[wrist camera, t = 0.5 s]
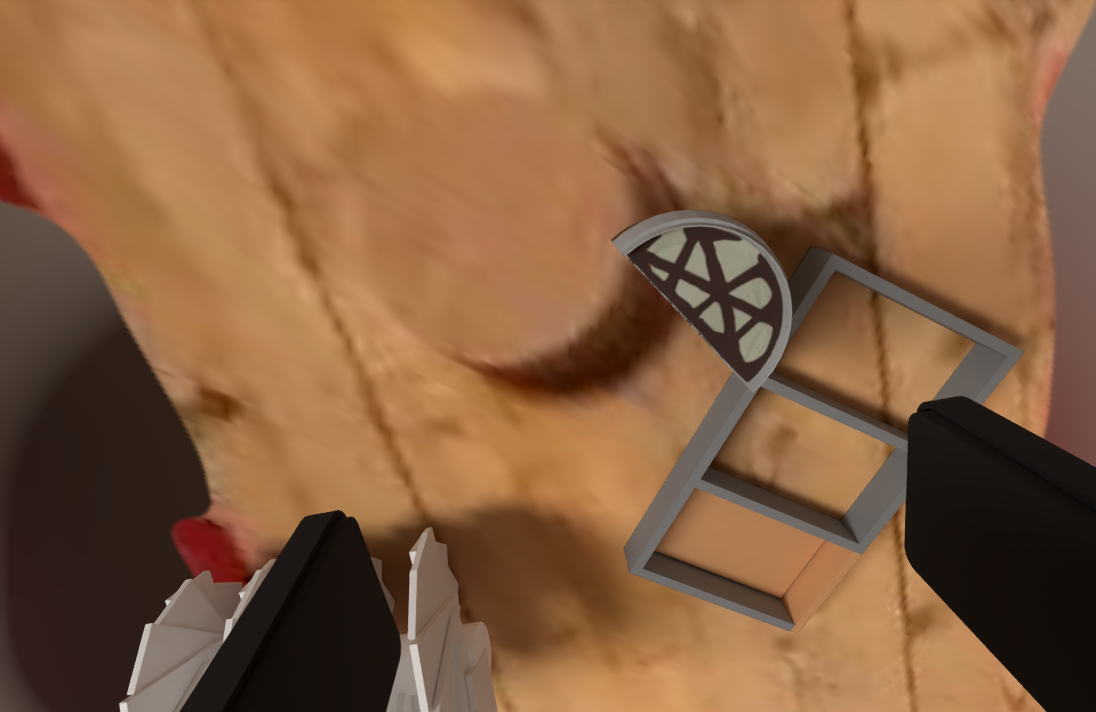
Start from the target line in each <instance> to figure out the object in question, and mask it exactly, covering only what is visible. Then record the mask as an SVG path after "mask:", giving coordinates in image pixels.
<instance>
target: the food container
mask: <svg viewBox="0 0 1096 712" xmlns="http://www.w3.org/2000/svg"><path fill="white" fill-rule="evenodd" d="M611 241H612V243H613V244H614V245H615V246H616V247H617V248H618V250H619V251H620V252H621V253H622V254H623V255H624V256H626V257H627V258H628V259H629V261H631V262H632V263H633V264H634V265H635V266H636V267H637V268H638V269H639V271H640V272H641V273H642V274H643V275H644V276H645V277H646V278H647V279H648V280H649V282H651V283H652V284H653V285H654V287H655V288H656V289H657V290H658V291H659V292H660V293H661V294H662V295H663V296H664V297H665V298H666V299H667V300H668V301H669V303H670V304H671V305H672V306H673V307H674V308H675V309H676V310H677V311H678V313H680V314H681V315H682V316H683V317H684V319H685V320H686V321H687V322H688V323H689V324H690V325H691V326H692V327H693V328H694V329H695V330H696V331H697V333H698V334H699V335H700V336H701V337H702V338H703V339H704V340H705V341H706V342H707V343H708V345H709V346H710V347H711V348H712V349H713V350H714V351H715V352H716V353H717V354H718V355H719V357H720V358H721V359H722V360H723V361H724V362H725V363H726V364H727V365H728V366H729V368H730V369H731V370H732V371H733V372H734V373H735V374H736V375H737V376H738V377H739V378H740V380H741V381H742V382H743V383H744V384H745V385H746V386H747V387H748V388H749V389H750V390H751V392H752V393H753V392H754V391H755V390H756V389H757V388H758V387H760V386H761V385H762V384H763V383H764V381H765V380H766V379H767V378H768V377H769V375H770V374H771V373H772V372H773V370H774V369H775V367H776V365H777V364H778V362H779V360H780V359H781V357H782V354H783V352H784V349H785V347H786V345H787V342H788V338H789V334H790V330H791V321H792V301H791V292H790V288H789V284H788V280H787V277H786V275H785V272H784V270H783V268H782V266H781V264H780V262H779V261H778V259H777V258H776V256H775V255H774V253H773V252H772V251H771V249H770V248H769V246H768V245H767V244H766V242H765V241H763V240H762V239H761V238H760V237H759V236H758V235H757V234H756V233H755V232H754V231H753V230H752V229H750V228H749V227H747V226H746V225H744V224H743V223H741V222H739V221H737V220H735V219H733V218H730V217H728V216H726V215H722V214H719V213H715V212H711V211H702V210H682V211H673V212H669V213H665V214H661V215H656V216H654V217H652V218H649V219H647V220H645V221H641V222H638V223H636V224H634V225H631V226H629V227H628V228H626V229H624V230H623V231H621V232H620V233H619V234H617V235H616V236H615V237H614V238H613V239H612V240H611Z"/></svg>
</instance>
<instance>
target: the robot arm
mask: <svg viewBox="0 0 1096 712" xmlns="http://www.w3.org/2000/svg"><path fill="white" fill-rule="evenodd" d="M904 545H905V552H906V556H907V558H908V560H909V562H910V564H911V566H912V567H913V569H914V570H915V571H916V572H917V573H918V574H919V575H920V576H921V578H922V579H923V580H924V581H925V582H926V583H927V584H928V585H929V586H930V587H931V588H932V589H933V590H934V592H935V593H936V594H937V595H938V596H939V597H940V598H941V599H942V600H943V601H944V602H945V603H946V604H947V605H948V607H949V608H950V609H951V610H952V611H953V612H954V613H955V614H956V615H957V616H958V617H959V618H960V619H961V620H962V622H963V623H964V624H965V625H966V626H967V627H968V628H969V629H970V630H971V631H972V632H973V633H974V634H975V635H976V637H977V638H978V639H979V640H980V641H981V642H982V643H983V644H984V645H985V646H986V647H987V648H988V649H989V651H990V652H991V653H992V654H993V655H994V656H995V657H996V658H997V659H998V660H999V661H1000V662H1001V663H1002V664H1003V666H1004V667H1005V668H1006V669H1007V670H1008V671H1009V672H1010V673H1011V674H1012V675H1013V676H1014V677H1015V678H1016V679H1017V681H1018V682H1019V683H1020V684H1021V685H1022V686H1023V687H1024V688H1025V689H1026V690H1027V691H1028V692H1029V693H1030V695H1031V696H1032V697H1033V698H1034V699H1035V700H1036V701H1037V702H1038V703H1039V704H1040V705H1041V706H1042V707H1043V708H1044V710H1045V711H1046V712H1096V467H1094V466H1092V465H1090V464H1089V463H1087V462H1085V461H1083V460H1081V459H1079V458H1077V457H1075V456H1074V455H1072V454H1070V453H1068V452H1067V451H1065V450H1063V449H1061V448H1059V447H1057V446H1056V445H1054V444H1052V443H1050V442H1048V441H1046V440H1045V439H1043V438H1041V437H1039V436H1037V435H1035V434H1034V433H1032V432H1030V431H1028V430H1026V429H1025V428H1023V427H1021V426H1019V425H1017V424H1015V423H1014V422H1012V421H1010V420H1008V419H1006V418H1004V417H1003V416H1001V415H999V414H997V413H995V412H993V411H992V410H990V409H988V408H986V407H984V406H982V405H981V404H979V403H977V402H975V401H973V400H971V399H970V398H967V397H964V396H954V397H949V398H944V399H938V400H933V401H927V402H923V403H922V404H920V405H919V407H918V409H917V413H913V414H912V415H911V416H910V418H909V422H908V449H907V481H906V513H905V544H904ZM400 657H401V639H400V635H399V632H398V629H397V627H396V624H395V621H394V619H393V616H392V613H391V610H390V608H389V605H388V602H387V600H386V597H385V594H384V592H383V589H382V586H381V584H380V581H379V578H378V576H377V573H376V570H375V568H374V565H373V562H372V560H371V557H370V554H369V552H368V549H367V546H366V544H365V541H364V538H363V536H362V533H361V530H360V528H359V525H358V523H357V521H356V519H355V518H354V517H346V515H345V514H344V513H343V512H342V511H340V510H337V511H331V512H326V513H321V514H315V515H310V516H306V517H304V518H303V519H302V521H301V522H300V524H299V525H298V527H297V528H296V530H295V531H294V533H293V534H292V536H291V538H290V539H289V541H288V542H287V544H286V545H285V547H284V549H283V550H282V552H281V553H280V555H279V556H278V558H277V560H276V561H275V563H274V564H273V566H272V567H271V569H270V571H269V572H268V574H267V575H266V577H265V578H264V580H263V581H262V583H261V585H260V586H259V588H258V589H257V591H256V592H255V594H254V596H253V597H252V599H251V600H250V602H249V603H248V605H247V607H246V608H245V610H244V611H243V613H242V614H241V616H240V617H239V619H238V621H237V622H236V624H235V625H234V627H233V628H232V630H231V632H230V633H229V635H228V636H227V638H226V639H225V641H224V643H223V644H222V646H221V647H220V649H219V650H218V652H217V653H216V655H215V657H214V658H213V660H212V661H211V663H210V664H209V666H208V668H207V669H206V671H205V672H204V674H203V675H202V677H201V679H200V680H199V682H198V683H197V685H196V686H195V688H194V690H193V691H192V693H191V694H190V696H189V697H188V699H187V700H186V702H185V704H184V705H183V707H182V708H181V710H180V711H179V712H386V711H387V707H388V703H389V700H390V696H391V692H392V688H393V684H394V681H395V677H396V673H397V669H398V665H399V662H400Z"/></svg>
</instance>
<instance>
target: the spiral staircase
mask: <svg viewBox="0 0 1096 712" xmlns="http://www.w3.org/2000/svg"><path fill="white" fill-rule="evenodd" d="M409 554H410V558H411V561H412V568H411V571H410V575H409V577H410V586H409V616H408V633H406V634H400V639H401V657H400V662H399V665H398V669H397V673H396V677H395V681H394V684H393V688H392V692H391V696H390V700H389V703H388V707H387V711H386V712H498V711H497V705H496V700H495V694H494V689H493V683H492V678H491V645H490V639H489V635H488V631H487V628H486V626H485V624H484V623H483V622H481V621H480V622H474V623H468V624H462V622H461V619H460V609H461V607H460V605H459V601H458V585H459V584H458V582H457V580H456V579H455V577H454V575H453V574H452V572H451V570H450V569H449V567H448V556H447V544H443V543H439V542H436V541H435V537H434V533H433V529H432V527H429V528H426V529H425V530H424V532H423V533H422V535H421V536H420V538H419V539H418V540H417V542H416V543H415V545H414V546H413V548H412V549H411V550H410V552H409ZM371 560H372V562H373V565H374V568H375V570H376V573H377V576H378V578H379V581H380V584H381V586H382V589H383V592H384V594H385V597H386V600H387V602H388V605H389V608H390V610H391V613H393V609H394V604H395V601H394V599H393V598H392V596H391V594H390V593H389V591H388V590H387V588H386V586H385V585H384V583H383V582H382V560H380V559H376V558H373V557H371ZM275 561H276V559H271V560H269V561H268V563H267V564H266V565H265V566H264V567H263V568H262V569H261V570H256V572H255V574H254V576H253V578H252V579H251V580H250V581H249V583H248V584H247V585H246V586H245V587H244V588H243V589H242V582H238V583H213V580H212V577H211V574H210V571H204V572H202V573H201V574H200V575H199V576H197V577H196V578H195V579H193V580H192V579H188V580H185V582H184V583H183V584H182V586H181V587H180V589H179V590H178V591H177V592H176V593H175V594H174V595H172V596H171V597H170V598H168V599H167V600H166V601H165V602H166V605H167V606H166V608H165V609H164V611H163V612H162V613H161V615H160V616H159V618H158V619H157V620H156V622H155V623H154V624H153V623H151V624H146V625H145V629H144V633H143V637H142V640H141V644H140V648H139V651H138V656H137V659H136V663H135V667H134V670H133V674H132V678H131V682H130V685H129V689H128V693H127V695H131V696H130V697H128V698H127V699H125V700H124V701H122V702H121V703H120V711H121V712H179V711H180V710H181V708H182V707H183V705H184V704H185V702H186V700H187V699H188V697H189V696H190V694H191V693H192V691H193V690H194V688H195V686H196V685H197V683H198V682H199V680H200V679H201V677H202V675H203V674H204V672H205V671H206V669H207V668H208V666H209V664H210V663H211V661H212V660H213V658H214V657H215V655H216V653H217V652H218V650H219V649H220V647H221V646H222V644H223V643H224V641H225V639H226V638H227V636H228V635H229V633H230V632H231V630H232V628H233V627H234V625H235V624H236V622H237V621H238V619H239V617H240V616H241V614H242V613H243V611H244V610H245V608H246V607H247V605H248V603H249V602H250V600H251V599H252V597H253V596H254V594H255V592H256V591H257V589H258V588H259V586H260V585H261V583H262V581H263V580H264V578H265V577H266V575H267V574H268V572H269V571H270V569H271V567H272V566H273V564H274V563H275Z"/></svg>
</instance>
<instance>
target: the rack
mask: <svg viewBox="0 0 1096 712" xmlns="http://www.w3.org/2000/svg"><path fill="white" fill-rule="evenodd" d="M834 271H835V272H837V273H839V274H841V275H843V276H845V277H847V278H849V279H851V280H853V281H855V282H856V283H858V284H860V285H862V286H864V287H866V288H868V289H870V290H872V291H874V292H876V293H878V294H880V295H882V296H884V297H886V298H888V299H890V300H892V301H894V302H896V303H898V304H900V305H902V306H904V307H906V308H908V309H910V310H912V311H914V312H916V313H918V314H920V315H922V316H924V317H926V318H928V319H930V320H932V321H934V322H936V323H938V324H940V325H942V326H944V327H945V328H947V329H949V330H951V331H953V332H955V333H957V334H959V335H961V336H963V337H965V338H967V339H969V340H971V341H973V342H975V343H976V344H975V346H974V347H973V348H972V349H971V351H970V352H969V353H968V355H967V356H966V357H965V359H964V360H963V361H962V363H961V364H960V365H959V366H958V368H957V369H956V370H955V372H954V373H953V374H952V376H951V377H950V378H949V379H948V381H947V382H946V383H945V385H944V386H943V387H942V389H941V390H940V391H939V393H938V394H937V395H936V396H935V398H934V399H933V400H938V399H944V398H949V397H954V396H964V397H967V398H970V399H971V400H973V401H975V402H977V403H979V404H981V405H982V404H983V403H984V401H985V400H986V399H987V398H988V396H989V395H990V394H991V393H992V391H993V390H994V389H995V388H996V386H997V385H998V384H999V383H1000V381H1001V380H1002V379H1003V378H1004V376H1005V375H1006V374H1007V373H1008V371H1009V370H1010V369H1011V368H1012V366H1013V365H1014V364H1015V363H1016V361H1017V360H1018V359H1019V358H1020V356H1021V355H1022V354H1023V353H1024V351H1022V350H1020V349H1018V348H1016V347H1014V346H1013V345H1011V344H1009V343H1007V342H1005V341H1003V340H1001V339H999V338H997V337H995V336H993V335H991V334H989V333H987V332H985V331H983V330H981V329H979V328H977V327H975V326H973V325H972V324H970V323H968V322H966V321H964V320H962V319H960V318H958V317H956V316H954V315H952V314H950V313H948V312H946V311H944V310H942V309H940V308H938V307H936V306H934V305H932V304H931V303H929V302H927V301H925V300H923V299H921V298H919V297H917V296H915V295H913V294H911V293H909V292H907V291H905V290H903V289H901V288H899V287H897V286H895V285H893V284H891V283H889V282H888V281H886V280H884V279H882V278H880V277H878V276H876V275H874V274H872V273H870V272H868V271H866V270H864V269H862V268H860V267H858V266H856V265H854V264H852V263H850V262H848V261H847V260H845V259H843V258H841V257H839V256H837V255H835V254H833V253H830V252H827V251H824V250H821V249H818V248H815V247H812V246H811V247H810V249H809V251H808V252H807V254H806V255H805V257H804V259H803V260H802V262H801V264H800V265H799V267H798V268H797V270H796V272H795V273H794V275H793V276H792V278H791V280H790V281H789V283H788V284H789V288H790V292H791V301H792V321H791V330H790V334H789V338H788V342H787V344H788V343H789V341H790V339H791V338H792V336H793V335H794V333H795V332H796V330H797V329H798V327H799V326H800V324H801V322H802V321H803V319H804V318H805V316H806V315H807V313H808V312H809V310H810V308H811V307H812V305H813V304H814V302H815V301H816V299H817V298H818V296H819V295H820V293H821V291H822V290H823V288H824V287H825V285H826V284H827V282H828V281H829V279H830V277H831V276H832V274H833V273H834ZM786 346H787V345H786ZM761 387H763V388H765V389H767V390H770V391H772V392H774V393H776V394H778V395H781V396H783V397H785V398H787V399H790V400H792V401H794V402H796V403H798V404H801V405H803V406H805V407H807V408H810V409H812V410H814V411H816V412H818V413H821V414H823V415H825V416H827V417H830V418H832V419H834V420H836V421H838V422H841V423H843V424H845V425H847V426H850V427H852V428H854V429H856V430H858V431H861V432H863V433H865V434H867V435H870V436H872V437H874V438H876V439H878V440H881V441H883V442H885V443H887V444H890V445H892V446H894V447H896V449H895V450H894V451H893V453H892V454H891V455H890V456H889V458H888V459H887V460H886V462H885V463H884V464H883V466H882V467H881V468H880V470H879V471H878V472H877V473H876V475H875V476H874V477H873V479H872V480H871V481H870V483H869V484H868V485H867V486H866V488H865V489H864V490H863V492H862V493H861V494H860V496H859V497H858V498H857V500H856V501H855V502H854V503H853V505H852V506H851V507H850V509H849V510H848V511H847V513H846V514H845V515H844V516H843V518H842V519H841V520H840V521H839V520H837V519H834V518H832V517H829V516H827V515H824V514H822V513H820V512H817V511H815V510H812V509H810V508H808V507H805V506H803V505H800V504H798V503H795V502H793V501H791V500H788V499H786V498H783V497H781V496H779V495H776V494H774V493H771V492H769V491H766V490H764V489H762V488H759V487H757V486H754V485H752V484H750V483H747V482H745V481H742V480H740V479H737V478H735V477H733V476H730V475H728V474H725V473H723V472H720V471H718V470H716V469H713V468H711V467H709V465H710V463H711V462H712V460H713V459H714V457H715V456H716V454H717V453H718V451H719V450H720V448H721V446H722V445H723V443H724V442H725V440H726V439H727V437H728V436H729V434H730V432H731V431H732V429H733V428H734V426H735V425H736V423H737V422H738V420H739V419H740V417H741V415H742V414H743V412H744V411H745V409H746V408H747V406H748V405H749V403H750V401H751V400H752V398H753V397H754V395H755V394H756V392H757V391H758V389H759V388H760V387H758V388H757V389H756V390H755V391H754V392H753V393H752V392H751V390H750V389H749V388H748V387H747V386H746V385H745V384H744V383H743V382H742V381H741V380H740V378H739V377H738V376H737V375H736V374H735V373H734V372H733V373H732V375H731V376H730V378H729V379H728V381H727V383H726V384H725V386H724V387H723V389H722V391H721V392H720V394H719V396H718V397H717V399H716V400H715V402H714V404H713V405H712V407H711V408H710V410H709V412H708V413H707V415H706V416H705V418H704V420H703V421H702V423H701V424H700V426H699V428H698V429H697V431H696V433H695V434H694V436H693V437H692V439H691V441H690V442H689V444H688V445H687V447H686V449H685V450H684V452H683V453H682V455H681V457H680V458H679V460H678V462H677V463H676V465H675V466H674V468H673V470H672V471H671V473H670V474H669V476H668V478H667V479H666V481H665V482H664V484H663V486H662V487H661V489H660V490H659V492H658V494H657V495H656V497H655V499H654V500H653V502H652V503H651V505H650V507H649V508H648V510H647V511H646V513H645V515H644V516H643V518H642V519H641V521H640V523H639V524H638V526H637V527H636V529H635V531H634V532H633V534H632V536H631V537H630V539H629V540H628V542H627V544H626V545H625V547H624V552H625V556H626V560H627V565H628V569H629V573H631V574H634V575H637V576H639V577H642V578H645V579H648V580H650V581H653V582H656V583H659V584H661V585H664V586H667V587H670V588H672V589H675V590H678V591H680V592H683V593H686V594H689V595H691V596H694V597H697V598H700V599H702V600H705V601H708V602H711V603H713V604H716V605H719V606H722V607H724V608H727V609H730V610H732V611H735V612H738V613H741V614H743V615H746V616H749V617H752V618H754V619H757V620H760V621H763V622H765V623H768V624H771V625H774V626H776V627H779V628H782V629H784V630H787V631H790V632H793V633H795V634H798V633H799V632H800V631H801V630H802V628H803V627H804V626H805V625H806V623H807V622H808V621H809V620H810V618H811V617H812V616H813V615H814V613H815V612H816V611H817V610H818V608H819V607H820V606H821V605H822V603H823V602H824V601H825V600H826V598H827V597H828V596H829V595H830V593H831V592H832V591H833V590H834V588H835V587H836V586H837V585H838V584H839V582H840V581H841V580H842V579H843V577H844V576H845V575H846V574H847V572H848V571H849V570H850V569H851V567H852V566H853V565H854V564H855V562H856V561H857V560H858V559H859V557H860V556H861V555H862V554H863V552H864V551H865V550H866V549H867V547H868V546H869V545H870V544H871V542H872V541H873V540H874V539H875V537H876V536H877V535H878V534H879V532H880V531H881V530H882V529H883V527H884V526H885V525H886V524H887V522H888V521H889V520H890V519H891V517H892V516H893V515H894V514H895V512H896V511H897V510H898V509H899V507H900V506H901V505H902V504H903V502H904V501H905V500H906V481H907V449H908V433H905V432H903V431H901V430H899V429H896V428H894V427H892V426H890V425H888V424H885V423H883V422H881V421H879V420H877V419H874V418H872V417H870V416H868V415H866V414H864V413H861V412H859V411H857V410H855V409H853V408H850V407H848V406H846V405H844V404H842V403H840V402H837V401H835V400H833V399H831V398H829V397H826V396H824V395H822V394H820V393H818V392H815V391H813V390H811V389H809V388H807V387H805V386H802V385H800V384H798V383H796V382H794V381H791V380H789V379H787V378H785V377H783V376H781V375H778V374H776V373H774V372H772V373H771V374H770V375H769V377H768V378H767V379H766V380H765V381H764V383H763V384H762V385H761ZM933 400H932V401H933ZM823 542H824V543H823ZM819 547H820V548H819ZM655 551H657V552H655ZM816 551H817V552H816ZM658 552H660V553H658ZM661 553H662V554H661ZM663 554H665V555H663ZM666 555H668V556H666ZM813 555H814V556H813ZM669 556H670V557H669ZM671 557H673V558H671ZM674 558H676V559H674ZM677 559H678V560H677ZM810 559H811V560H810ZM679 560H681V561H679ZM682 561H684V562H682ZM685 562H686V563H685ZM687 563H689V564H687ZM690 564H692V565H690ZM806 564H807V565H806ZM693 565H694V566H693ZM695 566H697V567H695ZM698 567H699V568H698ZM701 568H702V569H701ZM803 568H804V569H803ZM703 569H705V570H703ZM706 570H707V571H706ZM709 571H710V572H709ZM711 572H713V573H711ZM800 572H801V573H800ZM714 573H715V574H714ZM717 574H718V575H717ZM719 575H721V576H719ZM722 576H723V577H722ZM797 576H798V577H797ZM725 577H726V578H725ZM796 577H797V578H796ZM727 578H729V579H727ZM730 579H731V580H730ZM733 580H734V581H733ZM735 581H737V582H735ZM793 581H794V582H793ZM738 582H739V583H738ZM740 583H742V584H740ZM743 584H745V585H743ZM746 585H747V586H746ZM790 585H791V586H790ZM748 586H750V587H748ZM751 587H753V588H751ZM754 588H755V589H754ZM756 589H758V590H756ZM787 589H788V590H787ZM759 590H761V591H759ZM762 591H763V592H762ZM764 592H766V593H764ZM767 593H769V594H767ZM770 594H771V595H770ZM783 594H784V595H783ZM772 595H774V596H772ZM775 596H777V597H775ZM778 597H779V598H778ZM780 598H781V599H780Z"/></svg>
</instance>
